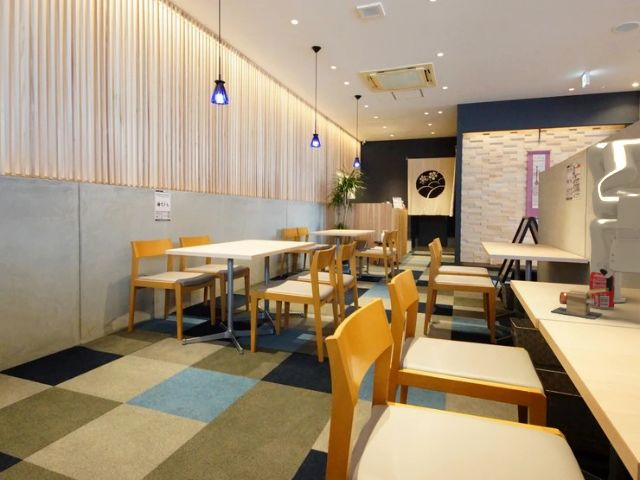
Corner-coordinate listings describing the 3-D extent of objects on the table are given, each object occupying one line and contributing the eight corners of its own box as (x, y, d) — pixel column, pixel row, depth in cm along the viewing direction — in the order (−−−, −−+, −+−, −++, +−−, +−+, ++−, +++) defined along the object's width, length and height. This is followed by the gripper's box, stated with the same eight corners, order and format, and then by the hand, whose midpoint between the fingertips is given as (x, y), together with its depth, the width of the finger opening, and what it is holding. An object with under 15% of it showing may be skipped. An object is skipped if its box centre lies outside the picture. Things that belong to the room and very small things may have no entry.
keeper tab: (591, 292, 123) (591, 289, 123) (610, 289, 119) (609, 287, 119) (587, 293, 119) (587, 291, 119) (606, 291, 116) (605, 289, 116)
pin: (562, 302, 128) (563, 291, 128) (594, 307, 122) (595, 295, 121) (559, 304, 126) (559, 292, 125) (591, 309, 119) (592, 296, 119)
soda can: (618, 311, 128) (620, 273, 127) (594, 310, 129) (596, 272, 129) (607, 306, 135) (608, 270, 134) (584, 305, 136) (586, 269, 136)
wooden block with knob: (560, 308, 132) (560, 287, 131) (602, 314, 123) (603, 292, 122) (550, 312, 125) (551, 290, 124) (594, 319, 116) (595, 296, 116)
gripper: (672, 236, 109) (669, 295, 110) (599, 234, 122) (596, 288, 122) (670, 236, 104) (667, 298, 105) (594, 234, 117) (591, 290, 117)
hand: (629, 292), depth 113 cm, fingers open, 8 cm apart
